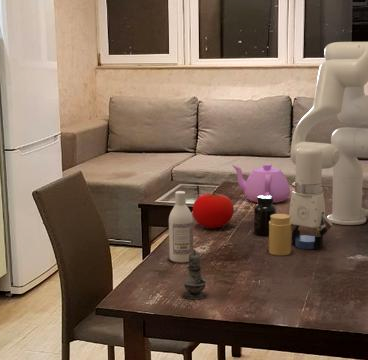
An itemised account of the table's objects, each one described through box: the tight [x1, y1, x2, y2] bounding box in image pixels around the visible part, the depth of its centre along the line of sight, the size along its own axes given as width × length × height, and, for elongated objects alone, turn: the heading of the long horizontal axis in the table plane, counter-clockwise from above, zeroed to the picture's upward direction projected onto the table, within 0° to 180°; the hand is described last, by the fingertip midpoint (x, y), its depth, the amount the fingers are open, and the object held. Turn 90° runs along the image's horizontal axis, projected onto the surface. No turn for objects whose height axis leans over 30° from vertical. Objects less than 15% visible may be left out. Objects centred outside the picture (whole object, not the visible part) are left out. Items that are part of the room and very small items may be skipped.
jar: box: [268, 213, 292, 256], centre depth 218 cm, size 6×6×11 cm
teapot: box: [231, 163, 291, 204], centre depth 282 cm, size 22×22×14 cm
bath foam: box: [168, 190, 194, 264], centre depth 213 cm, size 7×7×20 cm
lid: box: [294, 234, 316, 250], centre depth 224 cm, size 7×7×2 cm
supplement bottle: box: [253, 196, 277, 237], centre depth 237 cm, size 7×7×12 cm
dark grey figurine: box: [182, 248, 207, 300], centre depth 185 cm, size 6×6×12 cm
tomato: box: [192, 192, 235, 230], centre depth 247 cm, size 13×14×12 cm
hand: (306, 245), depth 224 cm, fingers closed on lid, 6 cm apart
